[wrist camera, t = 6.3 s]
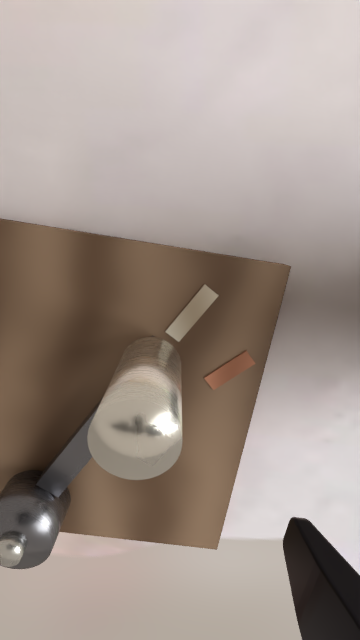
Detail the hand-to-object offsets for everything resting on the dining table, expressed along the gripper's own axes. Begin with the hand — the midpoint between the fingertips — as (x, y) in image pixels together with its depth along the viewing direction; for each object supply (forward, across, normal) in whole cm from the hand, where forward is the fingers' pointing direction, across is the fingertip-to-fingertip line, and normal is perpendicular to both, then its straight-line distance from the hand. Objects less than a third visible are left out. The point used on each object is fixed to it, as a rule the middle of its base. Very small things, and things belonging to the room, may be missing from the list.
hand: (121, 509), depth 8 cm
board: (+11, +5, +4) cm, 13 cm away
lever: (+10, +3, +6) cm, 12 cm away
